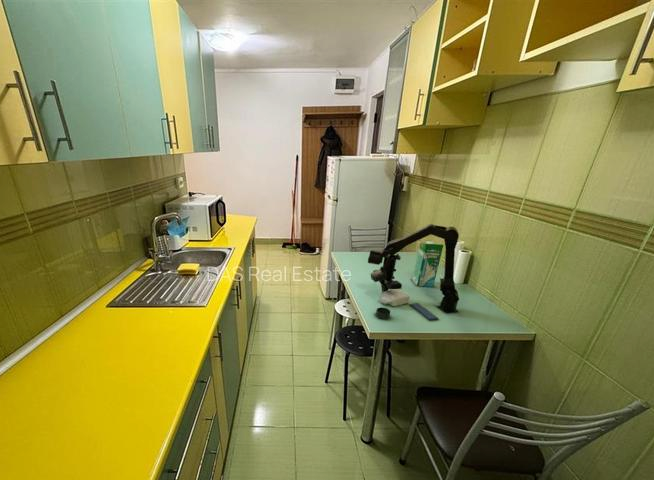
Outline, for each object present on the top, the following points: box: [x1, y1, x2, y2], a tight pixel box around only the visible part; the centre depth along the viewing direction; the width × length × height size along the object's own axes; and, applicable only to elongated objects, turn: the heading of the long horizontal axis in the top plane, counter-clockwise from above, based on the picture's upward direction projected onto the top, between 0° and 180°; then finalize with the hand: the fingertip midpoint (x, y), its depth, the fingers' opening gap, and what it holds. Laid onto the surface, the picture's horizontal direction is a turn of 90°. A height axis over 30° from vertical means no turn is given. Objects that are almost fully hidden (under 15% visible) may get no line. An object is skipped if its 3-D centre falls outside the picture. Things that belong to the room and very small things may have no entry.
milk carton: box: [411, 240, 444, 288], centre depth 170 cm, size 9×9×25 cm
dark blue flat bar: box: [409, 302, 439, 321], centre depth 144 cm, size 4×15×1 cm, turn 13°
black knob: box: [375, 307, 391, 321], centre depth 139 cm, size 6×6×3 cm
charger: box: [377, 289, 410, 307], centre depth 151 cm, size 5×9×15 cm
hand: (383, 294), depth 158 cm, fingers closed
